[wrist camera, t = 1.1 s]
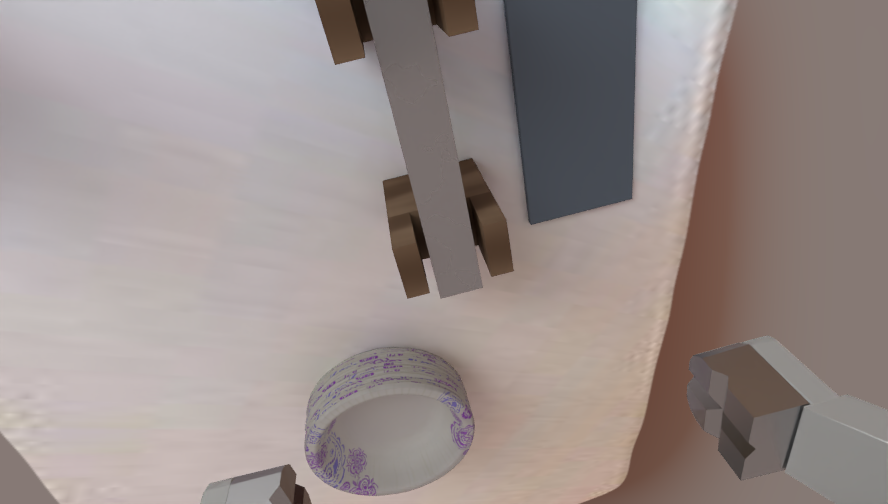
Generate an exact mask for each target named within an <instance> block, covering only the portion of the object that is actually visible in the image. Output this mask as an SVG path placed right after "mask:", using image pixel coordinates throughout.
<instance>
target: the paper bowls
mask: <svg viewBox="0 0 888 504" xmlns="http://www.w3.org/2000/svg"><path fill="white" fill-rule="evenodd" d="M474 427H475V425H474V418H473V415H472V411H471V408H470V405H469V401H468V398H467V394H466V391H465V388H464V385H463V383H462V380H461V378H460V376H459V375H458V373H457V372H456V370H454V368H453V367H451V366H450V365H449V364H448V363H447V362H446V361H444V360H443V359H442V358H439V357H438V356H436V355H433V354H431V353H428V352H426V351H421V350H417V349H412V348H380V349H375V350H371V351H367V352H364V353H361V354H358V355H355V356H353V357H350V358H348V359H346V360H344V361H343V362H341V363H340V364H338V365H336V366H335V367H334V368H332V369H331V370H330V371H329V372H328V373H326V374H325V375H324V376H323V377H322V378H321V379H320V380H319V382H318V383H317V385H316V386H315V388H314V390H313V391H312V393H311V396H310V398H309V401H308V407H307V418H306V427H305V431H306V435H305V455H306V459H307V461H308V464H309V466H310V468H311V469H312V471H313V472H314V473H315V475H316V476H318V477H319V478H320V479H321V480H322V481H324V482H325V483H326V484H328V485H330V486H332V487H334V488H336V489H338V490H341V491H345V492H348V493H352V494H358V495H368V496H371V495H372V496H381V495H390V494H398V493H402V492H407V491H410V490H414V489H417V488H420V487H422V486H425V485H427V484H429V483H431V482H433V481H435V480H437V479H439V478H441V477H442V476H444V475H445V474H446V473H448V472H449V471H450V470H452V469H453V468H454V467H455V466H456V465H457V464H458V463H459V462H460V461H461V460H462V459H463V457H464V456H465V455H466V453H467V451H468V450H469V448H470V446H471V443H472V440H473V436H474Z"/></svg>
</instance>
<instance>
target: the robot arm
mask: <svg viewBox="0 0 888 504" xmlns="http://www.w3.org/2000/svg"><path fill="white" fill-rule="evenodd" d="M689 370H690V371H691V373H692V374H693V375H694V377H693V379H692V380H691V381H690V382H689V383H688V385H687V399H688V402H689V406H690V409H691V411H692V413H693V415H694V417H695V419H696V421H697V422H698V423H699V425H700V426H701V428H702V429H703V430H704V431H705V432H707V433H709V434H711V435H713V436H715V437H717V438H719V439H718V451H719V452H720V453H721V455H722V456H723V457H724V459H725V460H726V461H727V463H728V464H729V465H730V467H731V468H732V469H733V471H734V472H735V474H736V475H737V476H738V478H739V479H740V480H745V479H749V478H753V477H758V476H762V475H766V474H770V473H774V472H778V471H782V470H785V473H787V474H788V475H790V476H792V477H793V478H795V479H796V480H798V481H800V482H801V483H803V484H805V485H806V486H808V487H809V488H811V489H813V490H814V491H816V492H818V493H819V494H821V495H823V496H824V497H826V498H827V499H829V500H831V501H832V502H834V503H836V504H888V410H886V409H884V408H881V407H878V406H876V405H873V404H871V403H868V402H866V401H863V400H860V399H858V398H855V397H853V396H850V395H844V396H839V395H838V394H836V393H835V392H834V391H833V390H832V389H831V388H830V387H829V386H827V385H826V384H825V383H824V382H823V381H822V380H821V379H820V378H819V377H817V376H816V375H815V374H814V373H813V372H812V371H811V370H810V369H808V368H807V367H806V366H805V365H804V364H803V363H802V362H801V361H800V360H798V359H797V358H796V357H795V356H794V355H793V354H792V353H791V352H789V351H788V350H787V349H786V348H785V347H784V346H783V345H781V343H779V342H778V341H777V340H776V339H775V338H772V337H770V336H764V337H760V338H756V339H753V340H749V341H745V342H742V343H736V344H732V345H729V346H725V347H721V348H718V349H715V350H711V351H707V352H704V353H700V354H697V355H693V357H692V358H691V359H690V364H689ZM295 482H296V473H295V471H294V470H293V468H292V467H291V465H290V464H288V465H284V466H279V467H275V468H271V469H267V470H263V471H258V472H254V473H250V474H246V475H242V476H237V477H234V478H230V479H226V480H222V481H218V482H214V483H210V484H209V485H208V487H207V488H206V490H205V491H204V493H203V496H202V499H201V503H200V504H312V503H311V500H310V497H309V494H308V493H307V491H306V489H305V487H302V486H300V485H297V484H295Z"/></svg>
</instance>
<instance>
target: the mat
mask: <svg viewBox="0 0 888 504" xmlns="http://www.w3.org/2000/svg"><path fill="white" fill-rule="evenodd" d="M504 8H505V17H506V26H507V34H508V43H509V52H510V61H511V69H512V78H513V87H514V96H515V104H516V113H517V122H518V131H519V139H520V148H521V157H522V166H523V174H524V183H525V192H526V201H527V209H528V218H529V222H530V224H531V225H532V224H536V223H540V222H544V221H548V220H551V219H555V218H559V217H563V216H567V215H571V214H575V213H579V212H583V211H586V210H590V209H594V208H598V207H602V206H606V205H610V204H614V203H617V202H621V201H625V200H629V199H632V180H633V139H634V97H635V55H636V13H637V0H504Z"/></svg>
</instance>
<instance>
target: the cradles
mask: <svg viewBox="0 0 888 504" xmlns="http://www.w3.org/2000/svg"><path fill="white" fill-rule="evenodd" d="M315 2H316V5H317V8H318V12H319V15H320V18H321V21H322V24H323V28H324V31H325V34H326V37H327V41H328V44H329V47H330V50H331V53H332V57H333V60H334V63H335V65H336V64H341V63H345V62H349V61H353V60H357V59H361V58H365V53H364V45H363V42H367V41H371V40H373V36H372V32H371V28H370V25H369V21H368V17H367V13H366V9H365V5H364V2H363V0H315ZM427 2H428V7H429V12H430V18H431V23H432V26H433V25H438V26H439V27H440V28H441V29H442V30H443V31H444V32H445V33H446V34H447V35H448V36H449V37H450V36H455V35H459V34H463V33H467V32H471V31H475V30H479V28H478V21H477V14H476V7H475V0H427ZM459 167H460V173H461V178H462V183H463V188H464V193H465V198H466V203H467V209H468V214H469V219H470V224H471V229H472V234H473V240H474V245H475V246H476V245H479V248H480V250H481V253H482V255H483V257H484V260H485V262H486V264H487V267H488V269H489V272H490V274H491V276H492V277H493V276H497V275H500V274H504V273H508V272H512V271H514V270H513V263H512V256H511V249H510V242H509V235H508V228H507V222H506V218H505V217H504V215H503V213H502V211H501V209H500V208H499V206H498V204H497V202H496V200H495V199H494V197H493V195H492V193H491V191H490V190H489V188H488V186H487V184H486V182H485V181H484V179H483V177H482V175H481V173H480V172H479V170H478V168H477V166H476V164H475V163H474V161H473V159H472V158H471V159H468V160H464V161H460V162H459ZM383 187H384V194H385V201H386V208H387V216H388V223H389V230H390V237H391V244H392V250H393V253H394V257H395V260H396V263H397V266H398V269H399V273H400V276H401V279H402V282H403V286H404V289H405V292H406V295H407V299H408V298H412V297H416V296H420V295H424V294H427V293H430V292H429V287H428V283H427V279H426V274H425V270H424V265H423V261H422V259H426V258H430V255H429V251H428V248H427V244H426V240H425V236H424V232H423V228H422V225H421V221H420V217H419V213H418V209H417V205H416V201H415V198H414V194H413V190H412V186H411V182H410V178H409V175H404V176H400V177H396V178H392V179H388V180H385V181H383Z"/></svg>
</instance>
